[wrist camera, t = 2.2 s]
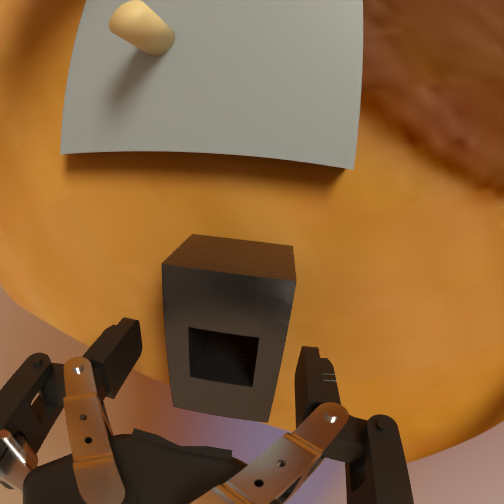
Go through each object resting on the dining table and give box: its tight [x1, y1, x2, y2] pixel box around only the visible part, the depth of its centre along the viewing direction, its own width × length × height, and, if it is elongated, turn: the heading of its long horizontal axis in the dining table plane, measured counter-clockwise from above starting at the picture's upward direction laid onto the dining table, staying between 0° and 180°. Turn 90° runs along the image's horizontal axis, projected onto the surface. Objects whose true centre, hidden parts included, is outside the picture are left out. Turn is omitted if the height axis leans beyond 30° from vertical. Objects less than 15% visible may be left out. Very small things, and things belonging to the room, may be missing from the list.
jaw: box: [162, 234, 296, 422], centre depth 15 cm, size 9×6×4 cm, turn 175°
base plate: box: [60, 0, 363, 170], centre depth 10 cm, size 16×12×5 cm
